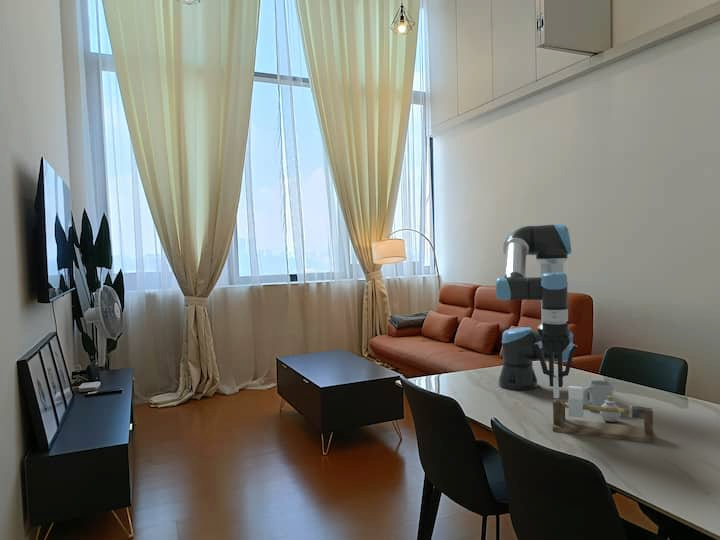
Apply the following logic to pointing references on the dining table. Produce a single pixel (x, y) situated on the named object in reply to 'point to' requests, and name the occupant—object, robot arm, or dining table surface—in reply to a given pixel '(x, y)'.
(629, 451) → the dining table surface
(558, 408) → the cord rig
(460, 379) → the dining table surface
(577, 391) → the sleeve
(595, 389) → the cup
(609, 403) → the ornament
